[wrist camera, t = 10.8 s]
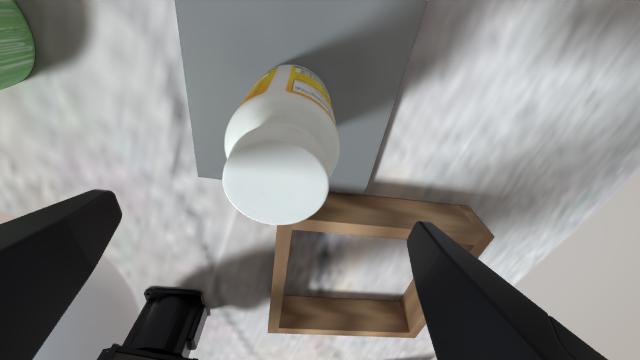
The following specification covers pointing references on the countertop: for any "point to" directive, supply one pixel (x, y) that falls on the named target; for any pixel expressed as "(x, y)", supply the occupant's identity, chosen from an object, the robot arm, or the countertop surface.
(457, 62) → the countertop surface
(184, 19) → the slate tile
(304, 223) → the wooden square frame
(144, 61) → the countertop surface
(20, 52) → the ramekin
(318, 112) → the supplement bottle
